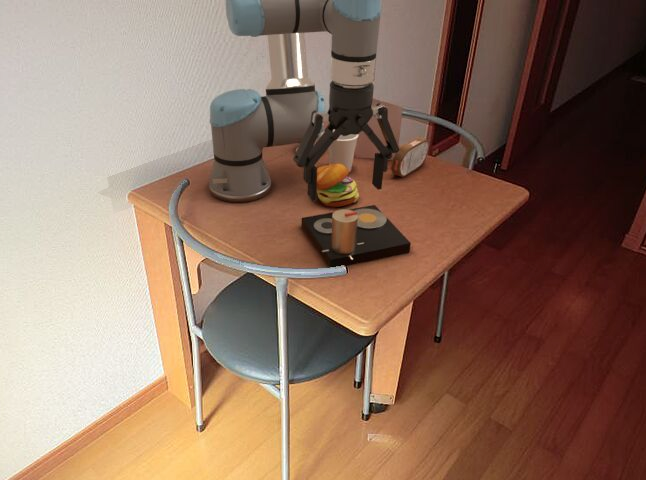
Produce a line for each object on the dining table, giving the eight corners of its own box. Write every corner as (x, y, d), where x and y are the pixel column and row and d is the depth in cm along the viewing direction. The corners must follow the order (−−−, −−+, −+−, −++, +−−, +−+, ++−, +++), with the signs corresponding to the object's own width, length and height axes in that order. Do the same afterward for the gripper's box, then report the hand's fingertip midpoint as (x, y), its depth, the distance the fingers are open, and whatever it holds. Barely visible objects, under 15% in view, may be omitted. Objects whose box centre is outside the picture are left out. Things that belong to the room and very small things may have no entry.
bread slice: (418, 160, 154) (422, 131, 149) (428, 163, 152) (432, 134, 147) (388, 178, 144) (391, 148, 139) (398, 182, 142) (402, 152, 137)
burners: (307, 219, 121) (307, 218, 121) (376, 207, 126) (376, 205, 126) (321, 239, 115) (321, 237, 115) (393, 225, 120) (393, 223, 120)
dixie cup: (361, 166, 150) (363, 131, 144) (347, 178, 143) (350, 142, 138) (333, 159, 153) (334, 125, 147) (319, 171, 147) (320, 135, 141)
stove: (298, 227, 123) (298, 217, 122) (373, 214, 129) (374, 204, 127) (330, 274, 109) (330, 263, 108) (413, 256, 115) (414, 246, 113)
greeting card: (398, 159, 154) (404, 106, 145) (383, 167, 149) (388, 113, 141) (366, 147, 160) (369, 96, 151) (350, 155, 155) (353, 102, 147)
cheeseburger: (356, 211, 129) (348, 173, 124) (313, 216, 132) (303, 178, 127) (362, 191, 137) (355, 154, 132) (321, 195, 140) (312, 159, 135)
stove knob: (336, 256, 110) (338, 222, 105) (327, 243, 114) (328, 210, 109) (359, 251, 111) (362, 218, 107) (349, 238, 115) (351, 206, 111)
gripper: (289, 96, 87) (289, 211, 100) (427, 81, 95) (411, 190, 108) (275, 81, 93) (277, 192, 106) (406, 68, 101) (393, 173, 113)
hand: (344, 191), depth 107 cm, fingers open, 13 cm apart
